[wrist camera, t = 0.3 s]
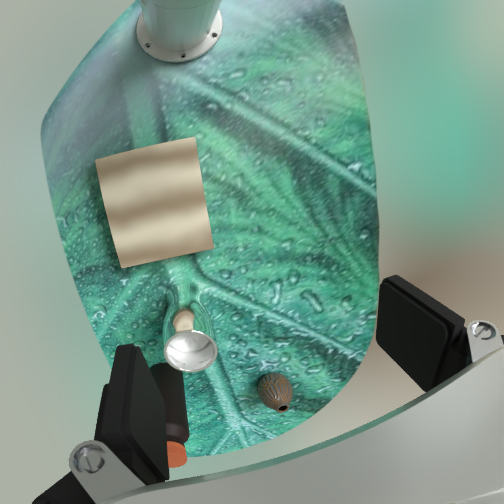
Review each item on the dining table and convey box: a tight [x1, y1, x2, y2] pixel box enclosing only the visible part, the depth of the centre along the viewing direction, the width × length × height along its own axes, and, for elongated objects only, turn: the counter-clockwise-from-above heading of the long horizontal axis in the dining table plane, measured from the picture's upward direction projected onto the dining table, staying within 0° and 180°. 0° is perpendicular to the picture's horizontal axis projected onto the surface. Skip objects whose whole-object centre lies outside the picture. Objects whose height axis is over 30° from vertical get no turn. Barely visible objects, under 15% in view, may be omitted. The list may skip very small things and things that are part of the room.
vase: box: [257, 373, 293, 413], centre depth 55 cm, size 7×7×9 cm
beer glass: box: [162, 279, 217, 372], centre depth 41 cm, size 7×7×15 cm
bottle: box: [150, 363, 189, 468], centre depth 43 cm, size 7×7×20 cm
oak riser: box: [95, 137, 214, 268], centre depth 40 cm, size 16×14×3 cm
